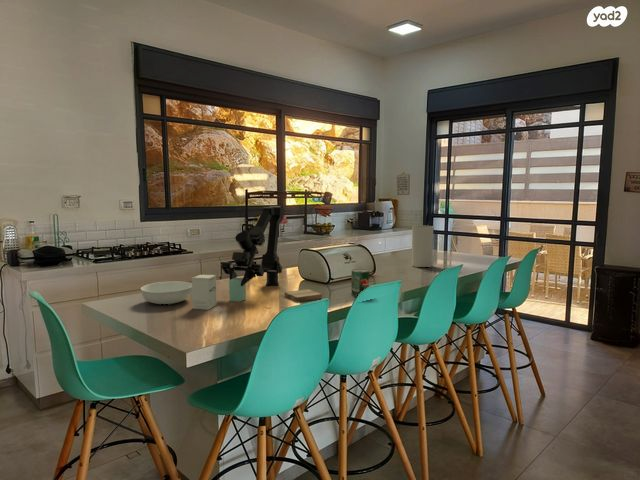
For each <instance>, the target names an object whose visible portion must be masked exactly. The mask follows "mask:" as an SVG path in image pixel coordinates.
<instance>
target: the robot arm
mask: <svg viewBox="0 0 640 480" xmlns="http://www.w3.org/2000/svg"><path fill="white" fill-rule="evenodd" d="M283 207H284V206H281V205H277V206H276V205H270V206H269V207H268V206H266V207H265V206H264V207H263V208H262V209H261V214H260V216H259V218H258V219H257V222H256V224H255V225H254V227H253V228H252V229H249V232H248V230H247V229H246V230H245V229H243V230H242V231H241V232H239V233H238V234H236V235H235V237H234V239H235V241H236V242H237V244H238V246H239V248H240V249H241V250H242V252H241V251H239V252H238V251H233V252H232V257H231V260H232V261H234V263H235V265H234V264H232V262H226V261H224V262H222V263H221V265H220V268H221V269H222V271H223V272H224V274H226V275H229V280H230V279H233V278H238V274H237V273H236V272H244V275H243V277H242V278H243V279H242V282H241V286H243V285H244V284H247V283H248V282H249V281H251V280H253V279H254V278H256V277H264V274H265V273H266V282H265V286H268V287H269V286H280V282H279V274H281V273H282V272H283V267H282V265H281V263H280V257H279V255H278V253H277V251H278V244H279V243H278V242H279V233H280V232H279V231H280V225H281V223H282V221H284V217H285V214H286V211H285V208H283ZM268 225H269V227H268ZM267 227H268V237H267V246H266V247H267V248H266V252H265V253H264V254H262V256H261V263H255V261H254V260H255V257H256V255H258V254H259V250H258V247H257V246H260V247H261V246H262V245H263V243H264V241H265V238H266V237H265V231H266V229H267Z"/></svg>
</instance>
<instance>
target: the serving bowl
mask: <svg viewBox="0 0 640 480" xmlns="http://www.w3.org/2000/svg"><path fill="white" fill-rule="evenodd" d="M140 293H141V296H142V298H143V299H144V300H146V301H147V302H149V303H152V304H156V305H157V304H158V305H161V304H164V305H165V304H168V305H174V304H177V303H181V302H183V301H186V300H187V299H188V298H189V297H190V296H192V282H189V281H181V280H180V281H179V280H177V281H176V280H175V281H173V280H172V281H159V282H153V283H148V284H145V285H143V286H141V287H140Z"/></svg>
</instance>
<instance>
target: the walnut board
mask: <svg viewBox="0 0 640 480" xmlns="http://www.w3.org/2000/svg"><path fill="white" fill-rule="evenodd" d="M322 296H323V294H322V293H320V292H317V291H314V290H312V289H309V288H307V289H300V290H299V289H296V290H292V291H291V290H289V291H285V292H284V297H285V298H286V299H289V300H291V301H294V302H296V303H300V302H301V303H302V302H308V300H309V301H314V300H315V301H316V300H322V299H323V297H322Z"/></svg>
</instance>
